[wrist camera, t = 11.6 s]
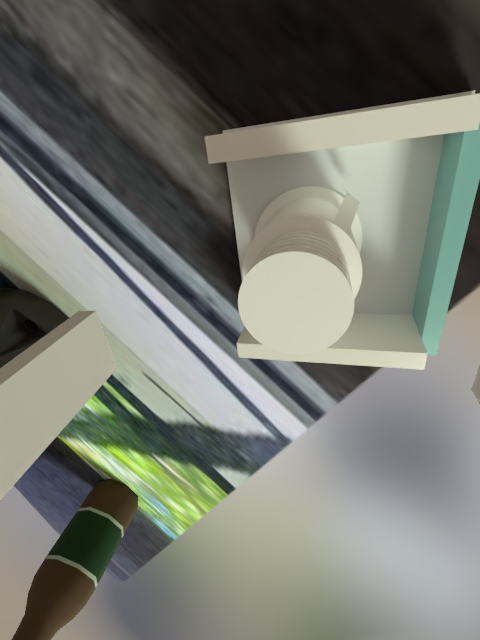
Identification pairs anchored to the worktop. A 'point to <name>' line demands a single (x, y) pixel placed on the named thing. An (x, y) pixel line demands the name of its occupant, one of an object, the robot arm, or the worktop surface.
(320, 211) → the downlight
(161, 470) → the worktop surface
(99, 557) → the beer bottle
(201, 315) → the worktop surface
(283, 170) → the holder
